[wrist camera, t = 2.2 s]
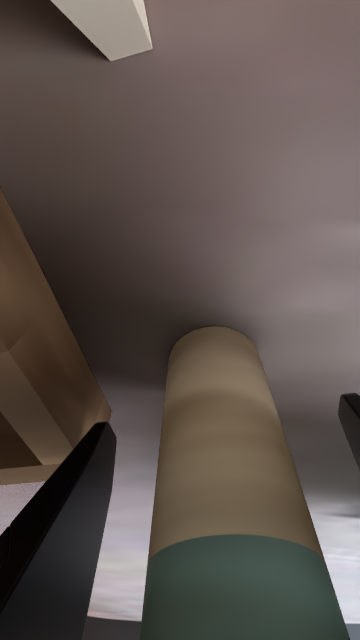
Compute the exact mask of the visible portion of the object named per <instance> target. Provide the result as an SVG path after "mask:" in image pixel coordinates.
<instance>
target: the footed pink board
mask: <svg viewBox="0 0 360 640" xmlns="http://www.w3.org/2000/svg"><path fill="white" fill-rule="evenodd" d="M51 1H52V2H53V3H54V4H55V5H56V6H57V7H58V8H59V9H60V10H61V11H62V12H63V13H64V14H65V15H66V16H67V17H68V18H69V19H70V20H71V21H72V23H73V24H74V25H75V26H76V27H77V28H78V29H79V30H80V31H81V32H82V33H83V34H84V35H85V36H86V37H87V38H88V39H89V40H90V41H91V42H92V43H93V44H94V45H95V46H96V47H97V48H98V49H99V50H100V51H101V52H102V53H103V54H104V55H105V56H106V57H107V58H108V59H109V60H110V61H114V60H117V59H121V58H124V57H127V56H131V55H134V54H137V53H141V52H144V51H147V50H151V49H153V48H152V42H151V37H150V32H149V27H148V22H147V17H146V11H145V6H144V1H143V0H51Z"/></svg>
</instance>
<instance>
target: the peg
mask: <svg viewBox="0 0 360 640" xmlns="http://www.w3.org/2000/svg"><path fill="white" fill-rule="evenodd" d="M140 640H350V638H349V635H348V632H347V629H346V625H345V622H344V619H343V616H342V613H341V610H340V607H339V603H338V600H337V597H336V594H335V591H334V588H333V585H332V582H331V578H330V575H329V572H328V569H327V566H326V563H325V560H324V556H323V553H322V550H321V547H320V544H319V541H318V538H317V535H316V531H315V528H314V525H313V522H312V519H311V516H310V513H309V510H308V506H307V503H306V500H305V497H304V494H303V491H302V488H301V485H300V481H299V478H298V475H297V472H296V469H295V466H294V463H293V459H292V456H291V453H290V450H289V447H288V444H287V441H286V438H285V434H284V431H283V428H282V425H281V422H280V419H279V416H278V413H277V409H276V406H275V403H274V400H273V397H272V394H271V391H270V387H269V384H268V381H267V378H266V375H265V372H264V369H263V366H262V362H261V359H260V356H259V353H258V350H257V348H256V346H255V344H254V343H253V342H252V341H251V340H250V339H249V338H248V337H247V336H246V335H244V334H243V333H241V332H239V331H237V330H234V329H231V328H227V327H220V326H211V327H204V328H200V329H197V330H194V331H192V332H189V333H188V334H186V335H184V336H183V337H182V338H181V339H179V340H178V341H177V342H176V344H175V345H174V346H173V348H172V350H171V352H170V355H169V362H168V371H167V381H166V391H165V400H164V410H163V420H162V429H161V439H160V449H159V458H158V468H157V478H156V487H155V497H154V507H153V516H152V526H151V536H150V545H149V555H148V565H147V574H146V584H145V594H144V603H143V613H142V623H141V632H140Z"/></svg>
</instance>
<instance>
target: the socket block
mask: <svg viewBox="0 0 360 640" xmlns="http://www.w3.org/2000/svg"><path fill="white" fill-rule="evenodd" d="M111 412H112V411H111V409H110V407H109V405H108V403H107V401H106V399H105V397H104V395H103V393H102V391H101V389H100V387H99V385H98V383H97V381H96V379H95V377H94V375H93V373H92V371H91V369H90V367H89V365H88V363H87V361H86V359H85V357H84V355H83V353H82V351H81V349H80V347H79V345H78V343H77V341H76V339H75V337H74V335H73V333H72V331H71V329H70V327H69V325H68V323H67V321H66V319H65V317H64V315H63V312H62V310H61V308H60V306H59V304H58V302H57V300H56V298H55V296H54V294H53V292H52V290H51V288H50V286H49V284H48V282H47V280H46V278H45V276H44V274H43V272H42V270H41V268H40V266H39V264H38V262H37V260H36V258H35V256H34V254H33V252H32V250H31V248H30V246H29V244H28V242H27V240H26V238H25V236H24V234H23V232H22V230H21V228H20V226H19V224H18V222H17V220H16V218H15V216H14V214H13V212H12V210H11V208H10V206H9V203H8V201H7V199H6V197H5V195H4V193H3V191H2V189H1V187H0V485H7V484H18V483H30V482H42V481H47V480H48V479H49V477H50V476H51V475H52V474H53V473H54V471H55V470H56V469H57V468H58V467H59V465H60V464H61V463H62V462H63V461H64V459H65V458H66V457H67V456H68V455H69V454H70V452H71V451H72V450H73V449H74V448H75V446H76V445H77V444H78V443H79V442H80V440H81V439H82V438H83V437H84V436H85V434H86V433H87V432H88V431H89V430H90V429H91V427H92V426H93V425H94V424H95V423H97V422H105V421H106V422H108V423H109V419H110V416H111Z"/></svg>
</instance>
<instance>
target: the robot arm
mask: <svg viewBox="0 0 360 640" xmlns="http://www.w3.org/2000/svg"><path fill="white" fill-rule="evenodd" d="M338 415H339V419H340V422H341V424H342V427H343V430H344V432H345V435H346V437H347V440H348V442H349V445H350V448H351V450H352V453H353V455H354V458H355V460H356V463H357V465H358V468H359V470H360V395H358V394H356V393H348V394H342V395H341V396H340V402H339V410H338ZM116 443H117V441H116V436H115V434H114V432H113V430H112V428H111V426H110V424H109V423H108V422H106V421H105V422H97V423H95V424H94V425H93V426H92V427H91V429H90V430H89V431H88V432H87V433H86V434H85V436H84V437H83V438H82V439H81V440H80V442H79V443H78V444H77V445H76V446H75V448H74V449H73V450H72V451H71V452H70V454H69V455H68V456H67V457H66V458H65V459H64V461H63V462H62V463H61V464H60V465H59V467H58V468H57V469H56V470H55V471H54V473H53V474H52V475H51V476H50V477H49V479H48V480H47V481H46V482H45V483H44V484H43V486H42V487H41V488H40V489H39V490H38V492H37V493H36V494H35V495H34V496H33V498H32V499H31V500H30V501H29V502H28V503H27V505H26V506H25V507H24V508H23V509H22V511H21V512H20V513H19V514H18V515H17V517H16V518H15V519H14V520H13V521H12V523H11V524H10V526H9V527H7V528H6V530H5V531H4V532H3V533H2V534H1V535H0V640H82V638H83V632H84V628H85V623H86V618H87V613H88V608H89V603H90V598H91V593H92V588H93V583H94V578H95V573H96V568H97V563H98V558H99V553H100V548H101V543H102V538H103V532H104V527H105V522H106V517H107V512H108V507H109V502H110V497H111V492H112V484H113V475H114V464H115V454H116Z"/></svg>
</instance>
